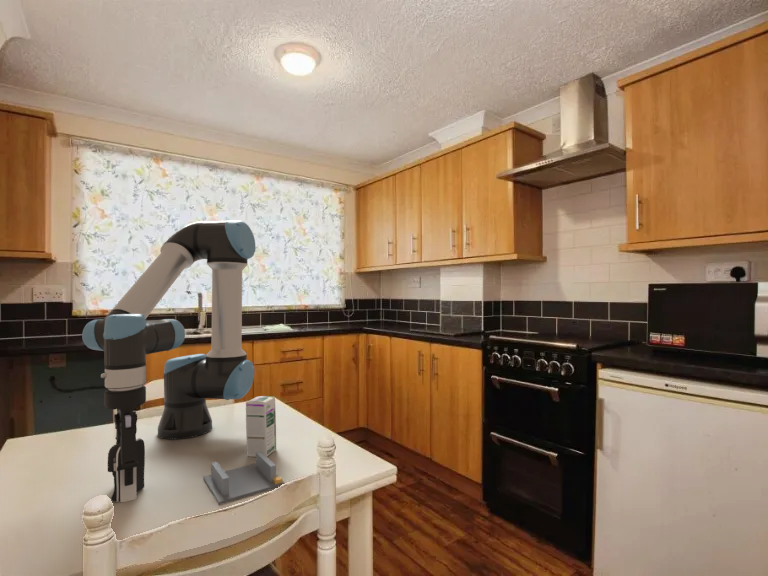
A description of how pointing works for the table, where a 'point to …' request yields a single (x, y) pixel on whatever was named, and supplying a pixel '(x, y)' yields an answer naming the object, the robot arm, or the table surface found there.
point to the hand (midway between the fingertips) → (125, 486)
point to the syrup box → (261, 425)
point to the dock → (242, 479)
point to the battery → (115, 461)
